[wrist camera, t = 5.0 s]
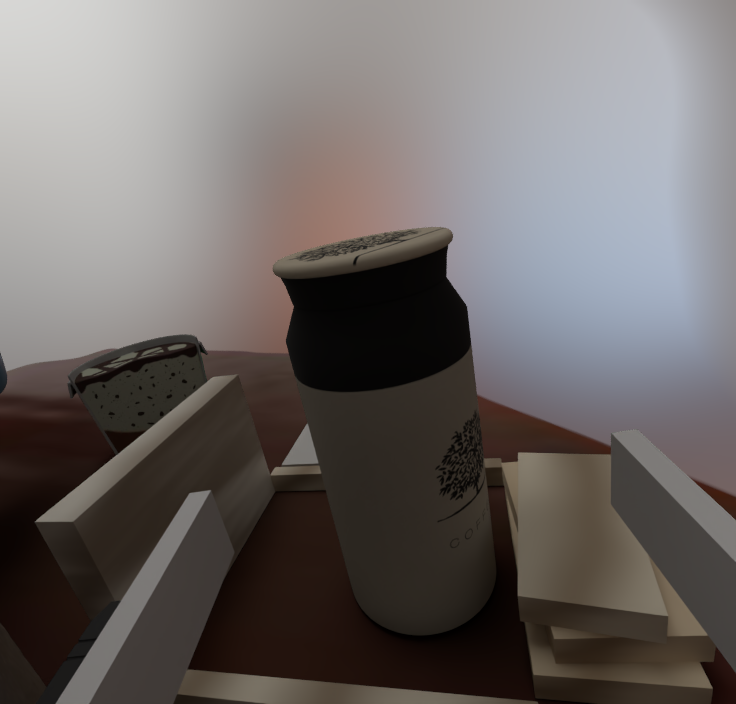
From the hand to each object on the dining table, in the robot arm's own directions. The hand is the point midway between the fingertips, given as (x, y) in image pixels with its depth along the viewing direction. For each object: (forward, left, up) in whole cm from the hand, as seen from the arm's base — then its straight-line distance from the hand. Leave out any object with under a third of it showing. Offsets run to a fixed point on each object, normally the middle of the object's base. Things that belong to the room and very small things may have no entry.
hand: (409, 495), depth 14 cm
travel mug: (-2, +6, -11) cm, 12 cm away
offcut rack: (-3, +6, -10) cm, 12 cm away
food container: (-31, +23, -11) cm, 40 cm away
